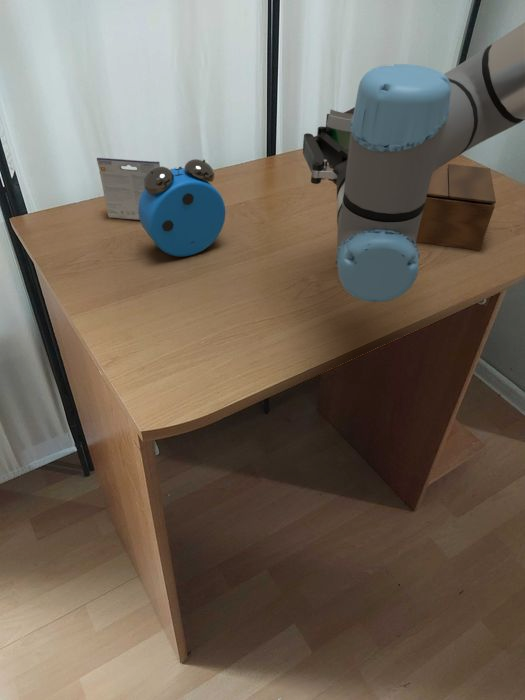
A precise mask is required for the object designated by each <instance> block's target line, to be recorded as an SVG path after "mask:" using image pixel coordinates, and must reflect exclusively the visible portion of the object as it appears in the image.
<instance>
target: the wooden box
mask: <svg viewBox="0 0 525 700" xmlns="http://www.w3.org/2000/svg"><path fill="white" fill-rule="evenodd" d="M495 208H496V206H495V204H494V203H486V202H477V201H469V200H461V199H453V198H449V186H448V162H447V163H446V164H444V165H442V166H441V167H439V168H438V169H436V170H434V171H433V173H432V176H431V180H430V184H429V188H428V192H427V196H426V200H425V205H424V209H423V213H422V218H421V222H420V226H419V230H418V234H417V239H416V243H420V244H427V245H428V244H429V245H434V246H435V245H437V246H443V247H450V248H457V249H465V250H473V251H480V250H481V248H482V245H483V242H484V239H485V236H486V233H487V230H488V227H489V225H490V221H491V219H492V216H493V213H494V210H495Z"/></svg>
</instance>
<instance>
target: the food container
mask: <svg viewBox="0 0 525 700" xmlns="http://www.w3.org/2000/svg"><path fill="white" fill-rule="evenodd" d="M354 109H355V106H354V107H352V108H351V109H349V110H347V111H344V112H341V111H337V110H334V109H332V108H331V109H330V110H329V114H330V115H329V116H328V120H327V125H326V124H325V127H326V126H327V127H330V129H332V137H331V138H332V139H334V140H335V141H336V142H337V143H339V144H340V145H341V146H342V147H343V148H345V149H349V142H350V133H351V125H350V124H351V118H352V116H353V115H354ZM328 165H329V167H330V168H332V169H334V168H333V167H332V166H331V165H330V164H329V163H328ZM327 180H328V181H330V182H333V180H332V179H327ZM333 183H334V182H333Z"/></svg>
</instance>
